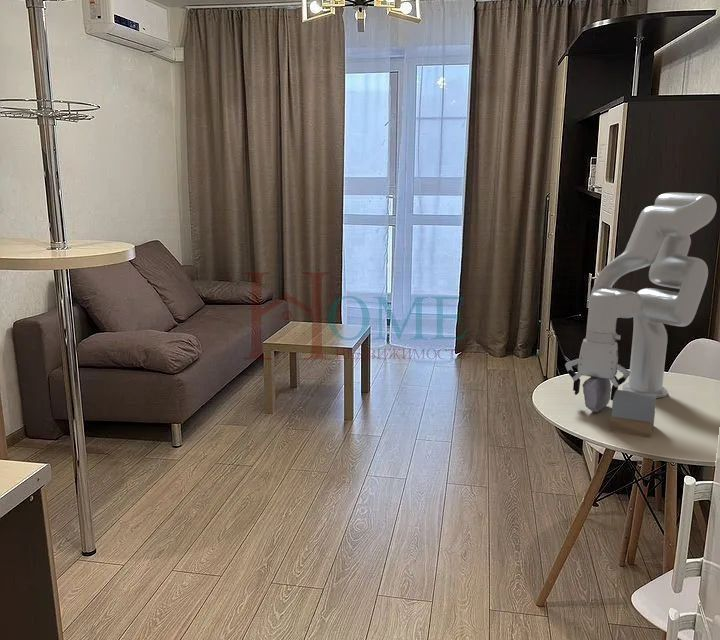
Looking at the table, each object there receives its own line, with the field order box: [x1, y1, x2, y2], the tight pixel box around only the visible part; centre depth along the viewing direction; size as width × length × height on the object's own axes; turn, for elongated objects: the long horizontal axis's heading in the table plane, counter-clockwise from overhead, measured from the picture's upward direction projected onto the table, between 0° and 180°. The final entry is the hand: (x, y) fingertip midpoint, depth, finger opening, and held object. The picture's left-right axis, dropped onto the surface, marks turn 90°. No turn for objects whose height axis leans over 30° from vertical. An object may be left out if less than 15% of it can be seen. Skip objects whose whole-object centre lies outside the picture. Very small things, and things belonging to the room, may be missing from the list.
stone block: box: [581, 377, 612, 413], centre depth 197 cm, size 12×5×10 cm, turn 141°
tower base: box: [608, 412, 656, 439], centre depth 184 cm, size 9×10×4 cm
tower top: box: [610, 389, 657, 422], centre depth 183 cm, size 9×10×4 cm
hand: (594, 396), depth 197 cm, fingers open, 9 cm apart
